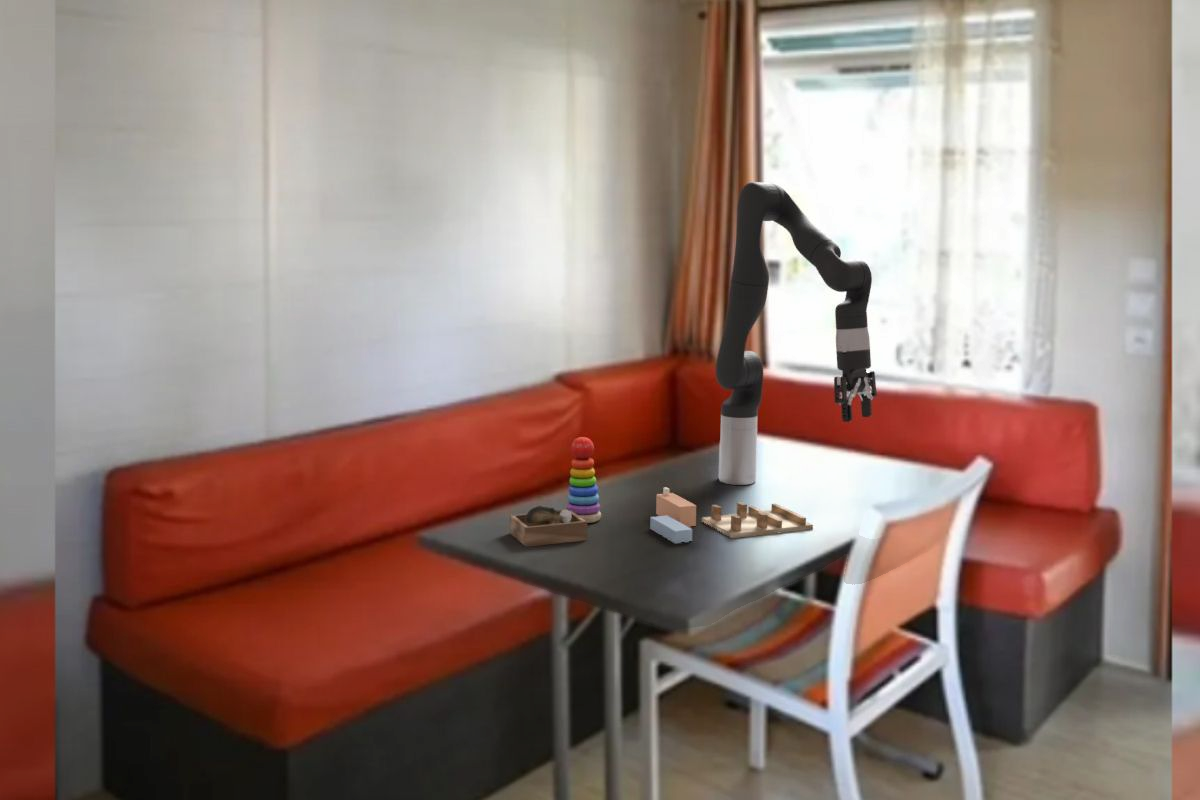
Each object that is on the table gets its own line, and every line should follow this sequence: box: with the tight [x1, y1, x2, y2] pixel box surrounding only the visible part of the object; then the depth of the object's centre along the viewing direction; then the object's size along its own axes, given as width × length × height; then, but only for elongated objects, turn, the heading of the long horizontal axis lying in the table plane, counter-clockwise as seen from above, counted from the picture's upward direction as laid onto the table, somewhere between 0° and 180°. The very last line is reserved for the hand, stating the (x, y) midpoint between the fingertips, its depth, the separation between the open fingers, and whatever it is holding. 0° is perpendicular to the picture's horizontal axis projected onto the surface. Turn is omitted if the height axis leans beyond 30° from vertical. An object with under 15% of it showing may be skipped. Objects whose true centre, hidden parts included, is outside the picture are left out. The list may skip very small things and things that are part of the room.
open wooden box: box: [509, 509, 588, 548], centre depth 254 cm, size 11×14×4 cm
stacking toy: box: [566, 436, 602, 524], centre depth 266 cm, size 8×8×19 cm
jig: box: [701, 501, 814, 539], centre depth 264 cm, size 14×20×4 cm
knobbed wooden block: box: [655, 486, 697, 528], centre depth 267 cm, size 12×4×6 cm, turn 22°
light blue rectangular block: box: [649, 515, 693, 544], centre depth 256 cm, size 12×4×3 cm, turn 23°
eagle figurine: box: [525, 505, 572, 525], centre depth 253 cm, size 8×7×9 cm
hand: (857, 419), depth 273 cm, fingers open, 8 cm apart
